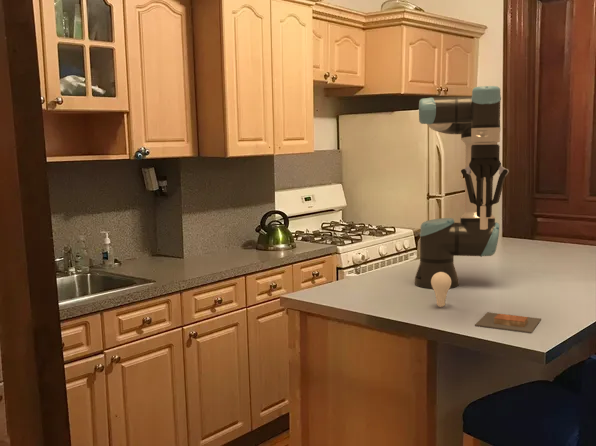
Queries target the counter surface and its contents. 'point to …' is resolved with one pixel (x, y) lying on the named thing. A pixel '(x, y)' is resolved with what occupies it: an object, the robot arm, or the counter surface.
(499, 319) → the wooden block
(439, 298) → the lightbulb
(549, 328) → the counter surface
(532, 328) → the mat
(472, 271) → the counter surface
